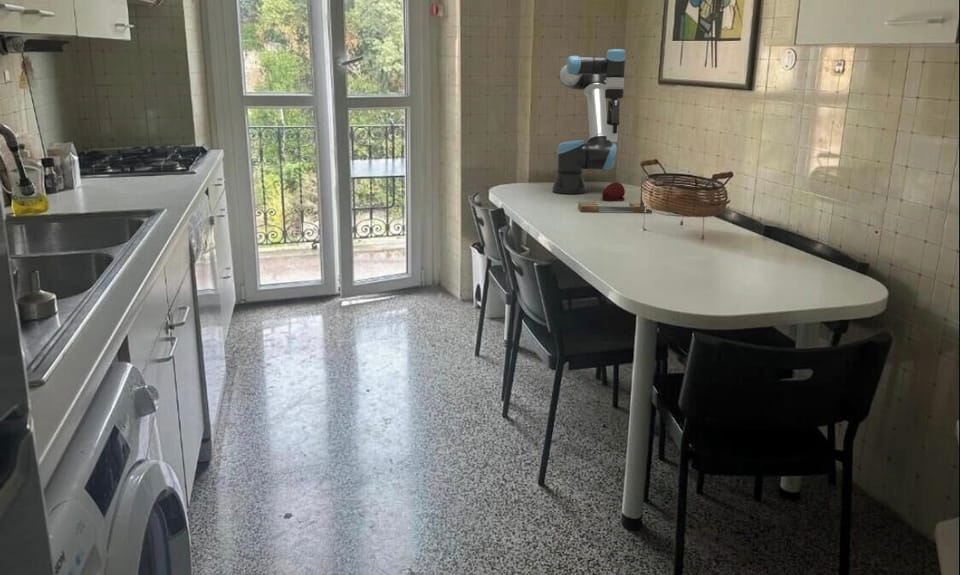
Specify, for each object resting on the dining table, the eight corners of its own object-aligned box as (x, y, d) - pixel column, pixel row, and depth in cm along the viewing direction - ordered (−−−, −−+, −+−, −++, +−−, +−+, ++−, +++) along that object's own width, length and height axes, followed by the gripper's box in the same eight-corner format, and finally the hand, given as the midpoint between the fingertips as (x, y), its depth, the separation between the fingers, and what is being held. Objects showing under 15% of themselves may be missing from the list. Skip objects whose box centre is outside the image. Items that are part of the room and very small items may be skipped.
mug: (612, 213, 314) (622, 206, 321) (622, 199, 309) (632, 193, 316) (594, 197, 316) (605, 192, 324) (603, 183, 311) (614, 178, 318)
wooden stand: (578, 207, 299) (579, 172, 296) (646, 208, 298) (648, 173, 294) (581, 212, 286) (582, 175, 283) (652, 213, 285) (654, 176, 282)
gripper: (601, 89, 310) (599, 139, 315) (609, 87, 286) (606, 142, 291) (619, 89, 310) (616, 139, 315) (628, 87, 286) (625, 142, 291)
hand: (611, 141), depth 303 cm, fingers open, 13 cm apart
